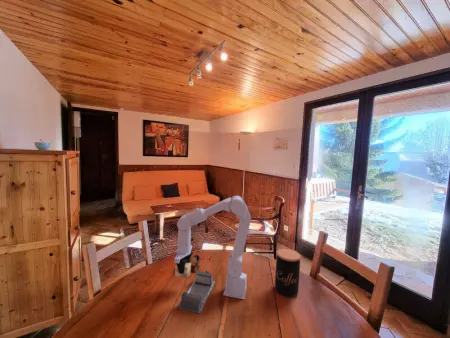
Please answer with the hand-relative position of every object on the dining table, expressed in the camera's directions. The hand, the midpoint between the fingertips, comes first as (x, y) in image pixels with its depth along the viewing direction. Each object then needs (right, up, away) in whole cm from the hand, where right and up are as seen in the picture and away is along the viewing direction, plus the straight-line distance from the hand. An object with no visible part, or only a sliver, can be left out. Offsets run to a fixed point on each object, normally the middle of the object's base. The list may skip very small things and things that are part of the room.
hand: (183, 270), depth 92 cm
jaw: (+9, -8, +7) cm, 14 cm away
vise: (+7, -9, -2) cm, 12 cm away
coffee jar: (+48, -11, +3) cm, 50 cm away
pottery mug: (0, -8, +18) cm, 20 cm away
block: (0, -2, 0) cm, 2 cm away
